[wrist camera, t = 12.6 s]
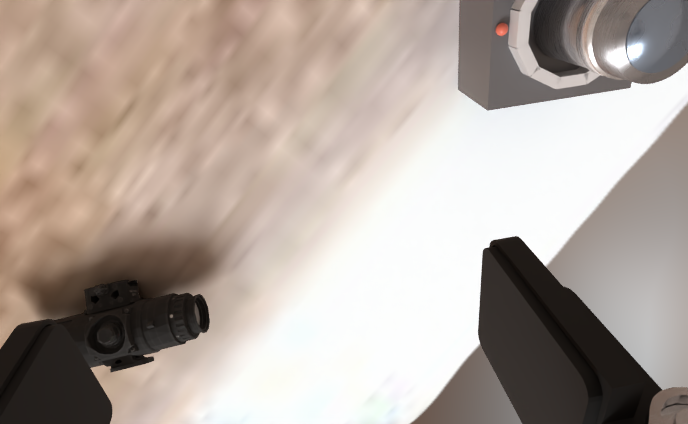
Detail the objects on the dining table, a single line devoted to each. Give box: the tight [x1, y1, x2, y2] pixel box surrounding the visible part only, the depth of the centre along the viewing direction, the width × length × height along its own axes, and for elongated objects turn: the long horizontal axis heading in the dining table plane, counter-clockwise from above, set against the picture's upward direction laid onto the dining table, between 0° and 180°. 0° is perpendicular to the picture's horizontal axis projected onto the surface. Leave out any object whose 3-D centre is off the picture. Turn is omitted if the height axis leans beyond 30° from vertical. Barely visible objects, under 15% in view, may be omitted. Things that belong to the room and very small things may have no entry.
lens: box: [533, 0, 688, 84], centre depth 26 cm, size 6×6×8 cm
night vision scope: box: [54, 280, 210, 372], centre depth 41 cm, size 8×18×10 cm
